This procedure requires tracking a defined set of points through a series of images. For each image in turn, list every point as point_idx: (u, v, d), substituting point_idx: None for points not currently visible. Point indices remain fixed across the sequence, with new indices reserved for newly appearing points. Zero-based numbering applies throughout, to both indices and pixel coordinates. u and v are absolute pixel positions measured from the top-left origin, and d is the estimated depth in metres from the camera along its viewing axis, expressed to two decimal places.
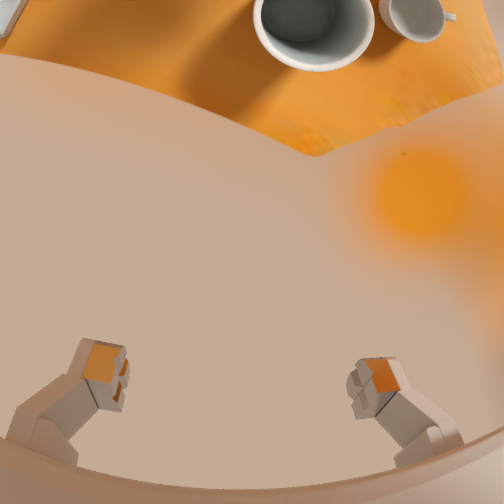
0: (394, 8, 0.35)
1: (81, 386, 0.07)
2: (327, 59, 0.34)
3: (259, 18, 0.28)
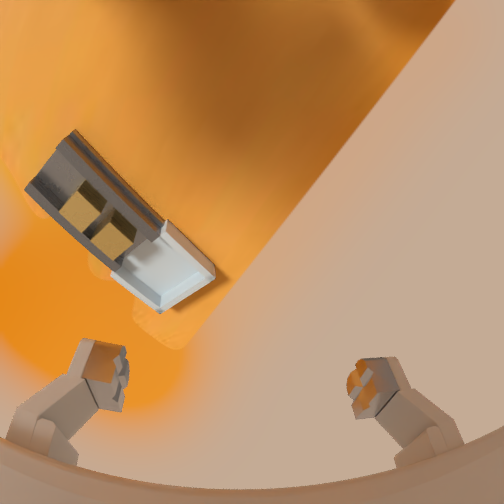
0: None
1: (81, 386, 0.07)
2: None
3: None
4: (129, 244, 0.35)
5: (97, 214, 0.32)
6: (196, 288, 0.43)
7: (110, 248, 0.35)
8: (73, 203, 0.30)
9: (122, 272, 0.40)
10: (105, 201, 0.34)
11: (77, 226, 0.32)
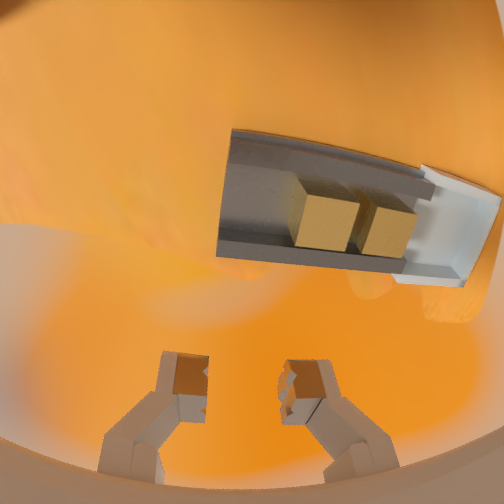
0: None
1: (173, 402, 0.07)
2: None
3: None
4: (414, 219, 0.22)
5: (355, 207, 0.21)
6: (490, 225, 0.24)
7: (392, 243, 0.23)
8: (313, 217, 0.21)
9: (405, 268, 0.27)
10: (344, 189, 0.23)
11: (335, 246, 0.22)
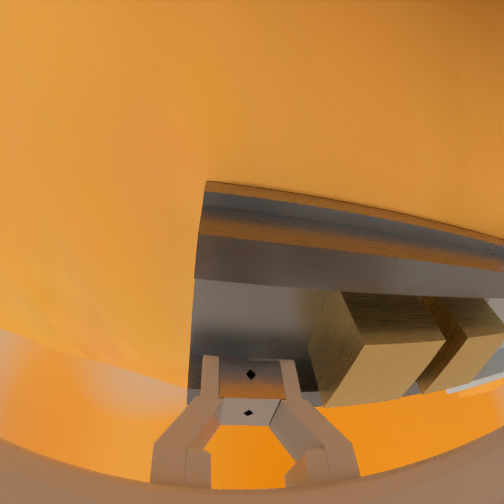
0: None
1: (219, 406, 0.08)
2: None
3: None
4: (503, 338, 0.11)
5: (437, 347, 0.10)
6: None
7: (466, 372, 0.12)
8: (364, 373, 0.10)
9: None
10: None
11: (388, 396, 0.11)
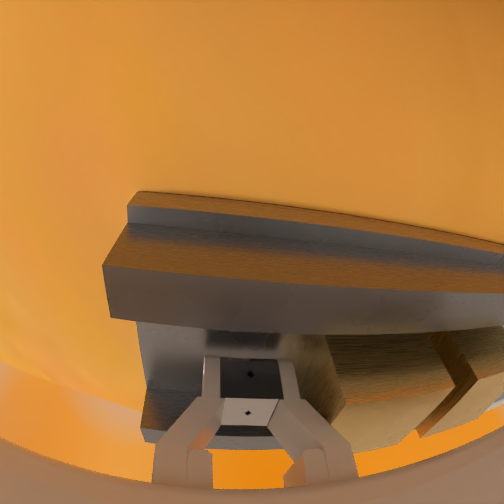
0: None
1: (220, 406, 0.08)
2: None
3: None
4: None
5: (444, 394, 0.07)
6: None
7: (474, 410, 0.09)
8: (349, 429, 0.07)
9: None
10: None
11: (382, 444, 0.09)
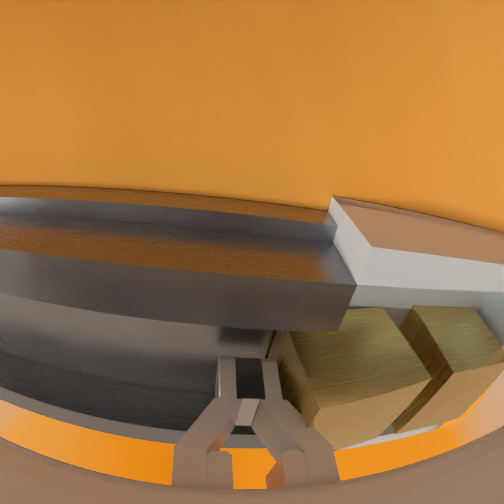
0: None
1: (237, 407, 0.08)
2: None
3: None
4: (502, 368, 0.08)
5: (421, 387, 0.08)
6: None
7: (454, 408, 0.09)
8: (326, 430, 0.07)
9: None
10: (385, 316, 0.10)
11: (362, 440, 0.09)
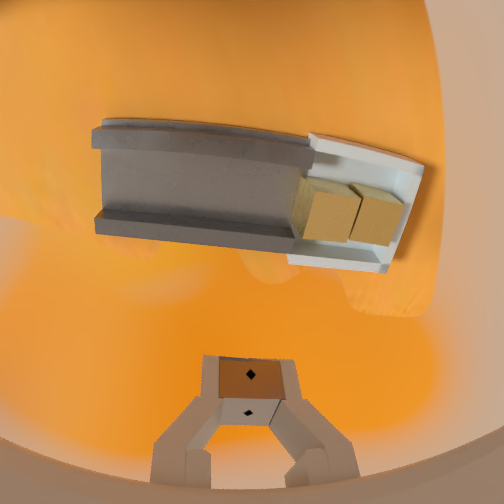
0: None
1: (219, 406, 0.08)
2: None
3: None
4: (400, 209, 0.23)
5: (357, 202, 0.23)
6: (411, 199, 0.24)
7: (379, 231, 0.24)
8: (319, 211, 0.23)
9: (302, 248, 0.27)
10: (344, 185, 0.25)
11: (338, 238, 0.24)
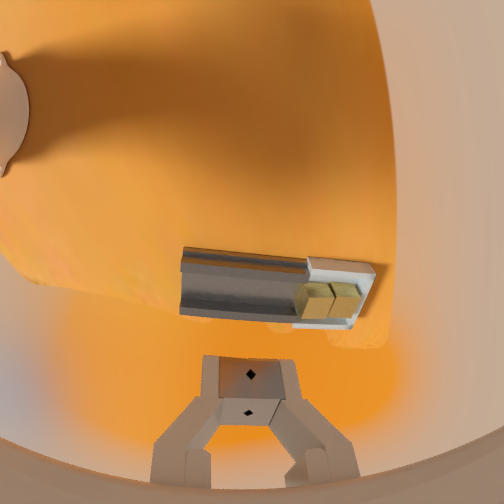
0: None
1: (219, 406, 0.08)
2: None
3: None
4: (358, 300, 0.42)
5: (332, 299, 0.42)
6: (367, 291, 0.43)
7: (345, 312, 0.43)
8: (311, 306, 0.42)
9: None
10: (326, 284, 0.44)
11: (321, 316, 0.43)
